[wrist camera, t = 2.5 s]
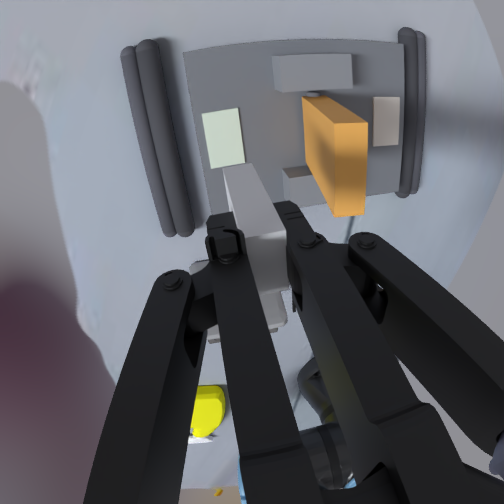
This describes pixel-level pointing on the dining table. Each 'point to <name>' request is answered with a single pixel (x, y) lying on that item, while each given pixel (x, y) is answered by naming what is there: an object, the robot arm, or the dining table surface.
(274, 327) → the electrical switch
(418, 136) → the cable bundle
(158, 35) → the dining table surface
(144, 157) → the cable bundle
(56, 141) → the dining table surface
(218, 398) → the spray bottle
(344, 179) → the lever
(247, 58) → the breaker panel
